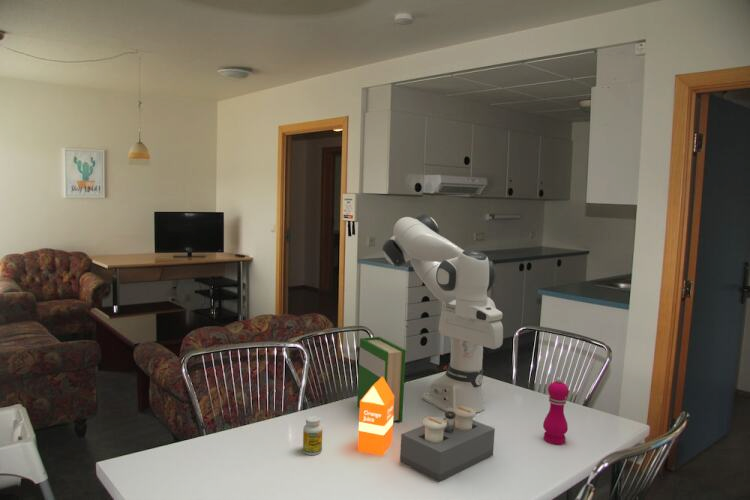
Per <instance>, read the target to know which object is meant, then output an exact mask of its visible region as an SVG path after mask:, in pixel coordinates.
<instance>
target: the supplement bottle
mask: <svg viewBox="0 0 750 500" xmlns="http://www.w3.org/2000/svg"><path fill="white" fill-rule="evenodd" d="M302 430H303V432H302V452H303V453H304V454H305V455H308V456H316V455H318V454H321V452H322V451H323V450H322V449H323V426H322V424H321V418H320V417H319V416H316V415H311V416H307V417H306V418H305V425H304V426H303V429H302Z"/></svg>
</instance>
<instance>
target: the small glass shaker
mask: <svg viewBox="0 0 750 500" xmlns="http://www.w3.org/2000/svg"><path fill="white" fill-rule="evenodd" d="M455 415H456V414H455V413H454V412H451V411H447V412H446V411H444V418H445V417H446V419H445V420H446V422H447V426H446V428H445V432H447V433H453V430H454V418H455Z"/></svg>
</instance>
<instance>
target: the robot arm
mask: <svg viewBox="0 0 750 500" xmlns="http://www.w3.org/2000/svg"><path fill="white" fill-rule="evenodd" d="M392 231H393V235H392V236H391V237H390V238H389V239H387V240H386V241H385V242H384V243H383V245H382V252H383V256H384V258H385V260H386V261H387V262H388V263H389V264H391V265H393V266H394V267H397V268H399V267H402V266H404V265H406V264H407V262H410V264H411V266H412V269H413V271H414V272H415V273H416V274H417V276H418V277H419V280H420V281H421V282H423V284H424V285H425V286H426V287H427V289H428V290H429V291H430V293H431V294H433V296H434V297H435V299H437V300H439V301H440V302H443V303H445V304H444V305H443V306H441V309H440V310H441V313H440V318H439V322H438V323H439V324H438V333H439V335H441V336H446V337H449V340H450V362H449V364H447V365H445V366H443V370H446V371H445V373H444V374H443V375H441V376H439V377H438V378H436V379H434V380H433V381H432V382H431V384H430V386H429V391H427V392H425V393H423V395H422V397H421V398H422V400H423V401H426V402H427V403H429V404H431V405H433V406H435V407H436V408H439V409H440V410H442V411H444V412H447V411H451V412H453V408H454V407H457V406H466V407H470V408H473V409H474V410H475V411H476V413H480V412H482V411H483V410H485V406H484V400H483V392H482V384H483V378H484V376H483V375H484V368H483V357H484V355H483V354H484V348H488V349H492V350H497V349H500V347H501V346H502V345H503V343H504V342H503V341H504V326H503V323H502V321H501V320H502V319H503V315H504V314H503V312H502V311H501V310H500V309H498V308H497V307H496V305H495V302H494V300H493V299H492V298H490V297H489V296H488V294H487V292H489V291H490V290H491V289H492V288H493V287H494V285H495V283H496V281H497V277H498V271H497V270H496V267H495V266H494V264H493V262H492V261H491V260H490V259H489V258H488V256H487V255H486V254H485V253H484V252H481V251H477V250H472V249H471V250H470V249H469V250H467V249H465V248H463V247H462V246H460V245H459V244H457V243H456V242H455V243H454V242H453V241H451V240H449V239H447V238H445V237H444V236H442V235H440V229H439V225H438V224H437V222H436V220H435V219H434V218H432V217H431V216H430V215H428V214H424V213H423V214H420V215H419V216H418V215H417V216H416V217H415V218H413V217H410V216H405V217H401V218H399V220H397V221H396V222H395V223H394V226H393V230H392ZM476 413H475V414H476Z"/></svg>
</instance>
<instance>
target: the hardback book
mask: <svg viewBox="0 0 750 500" xmlns="http://www.w3.org/2000/svg"><path fill="white" fill-rule="evenodd" d="M406 354H407V350H406V349H405V348H403V347H401V346H399V345H397V344H394V343H392V342H390V341H388V340H387V339H385V338H383V337H381V336H374V337H373V336H372V337H371V336H370V337H362V338H359V353H358V355H359V357H358V358H359V359H358V378H357V380H358V381H357V382H358V383H357V399H356V400H357V401H356V402H357V403H356V407H358V409H360V401H361V400H362V398H363V397H364V396H365V395H366V393H367V392H368V391H369V390H370V388H371V387H372V386H373V385H374V384H375V383H376V382H377V381H378V380H379V379H380V378H381V377H382V376H383V378H384V379H385V381H386V383H387V385H388V386H389V388H390V390H391V392H392V393H393V395H394V411H393V422H395V421H397V422H398V424H399V423H403V413H404V412H403V411H404V409H403V408H404V392H405V374H406V372H405V371H406Z"/></svg>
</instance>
